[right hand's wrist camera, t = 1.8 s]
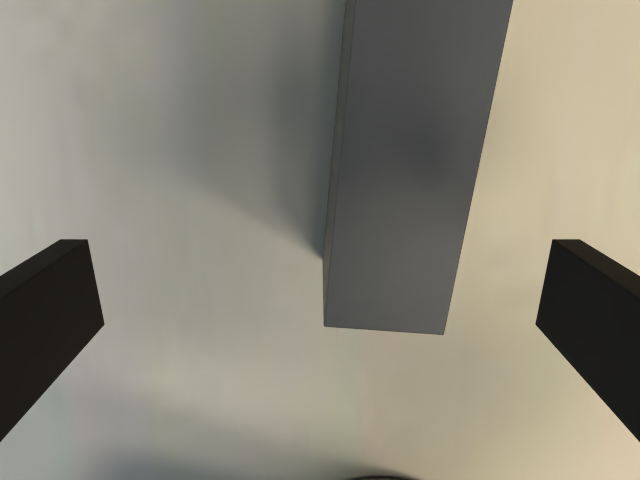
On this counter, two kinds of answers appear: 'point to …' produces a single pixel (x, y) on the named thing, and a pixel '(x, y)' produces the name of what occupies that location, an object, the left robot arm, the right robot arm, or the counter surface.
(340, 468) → the counter surface
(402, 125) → the post
